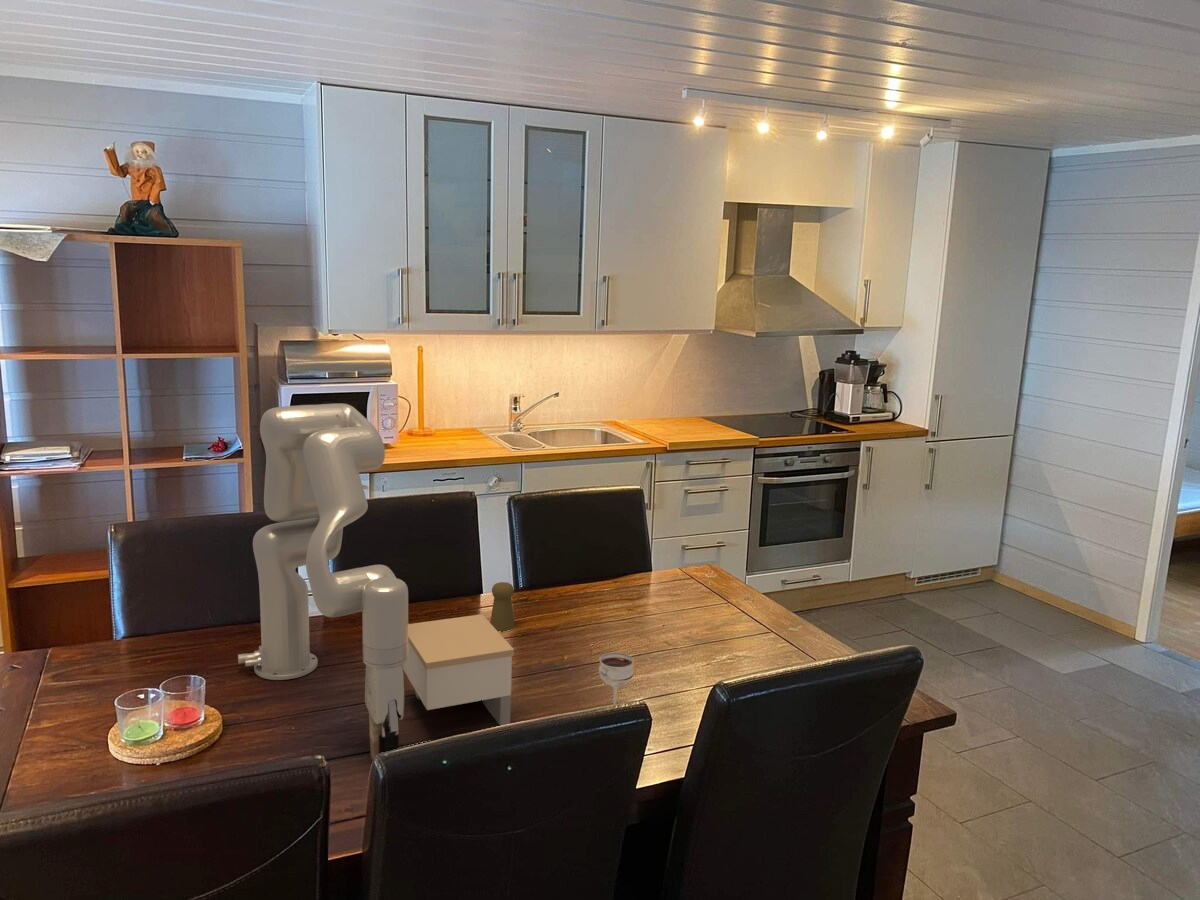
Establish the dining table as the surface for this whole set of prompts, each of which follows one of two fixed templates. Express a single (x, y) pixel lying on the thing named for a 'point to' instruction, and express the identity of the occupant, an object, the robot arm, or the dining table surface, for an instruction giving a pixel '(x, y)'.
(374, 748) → the wooden mallet
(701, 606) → the dining table surface
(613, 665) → the wineglass
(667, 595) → the dining table surface
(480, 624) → the low cabinet
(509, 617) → the olive pawn
